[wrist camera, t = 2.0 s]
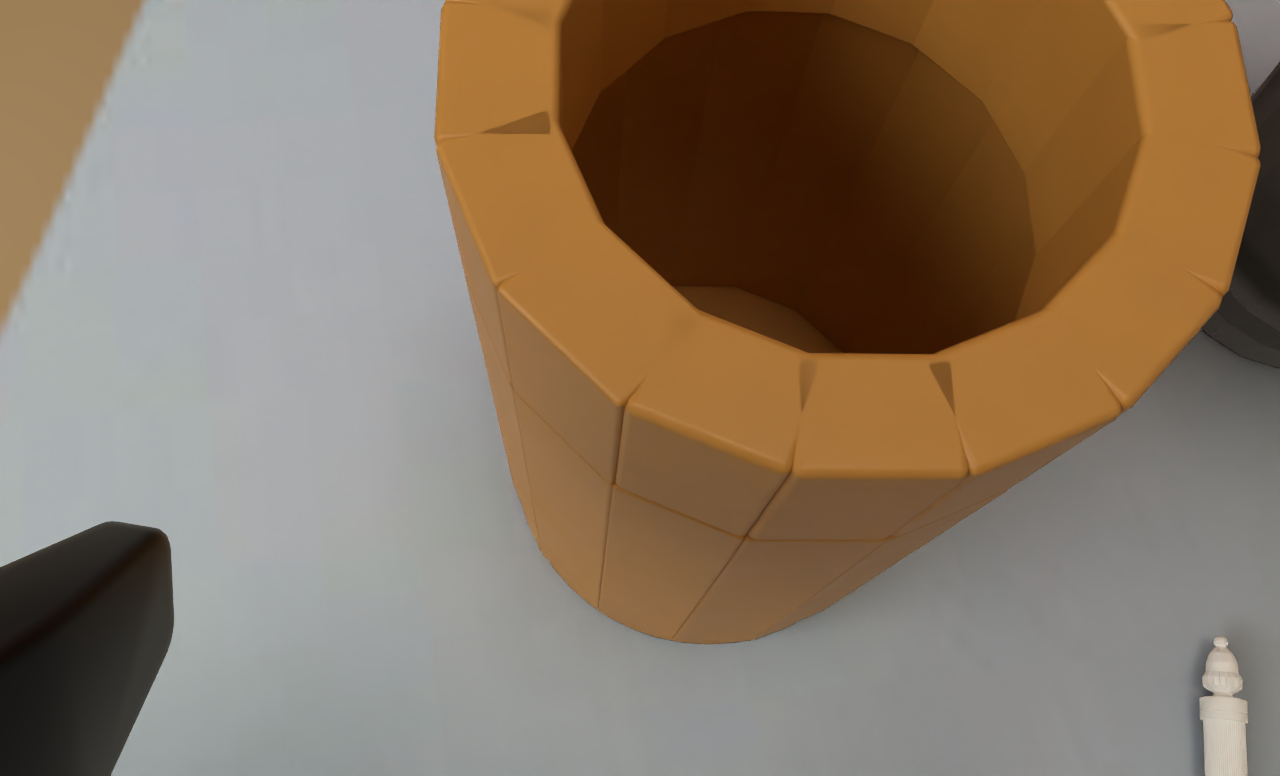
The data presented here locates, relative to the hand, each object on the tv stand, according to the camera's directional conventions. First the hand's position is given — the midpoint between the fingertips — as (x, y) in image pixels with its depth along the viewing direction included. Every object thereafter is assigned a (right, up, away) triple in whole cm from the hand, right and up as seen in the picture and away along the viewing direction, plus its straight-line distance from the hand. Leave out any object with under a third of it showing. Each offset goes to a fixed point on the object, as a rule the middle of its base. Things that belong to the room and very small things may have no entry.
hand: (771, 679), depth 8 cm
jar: (0, +1, +13) cm, 13 cm away
